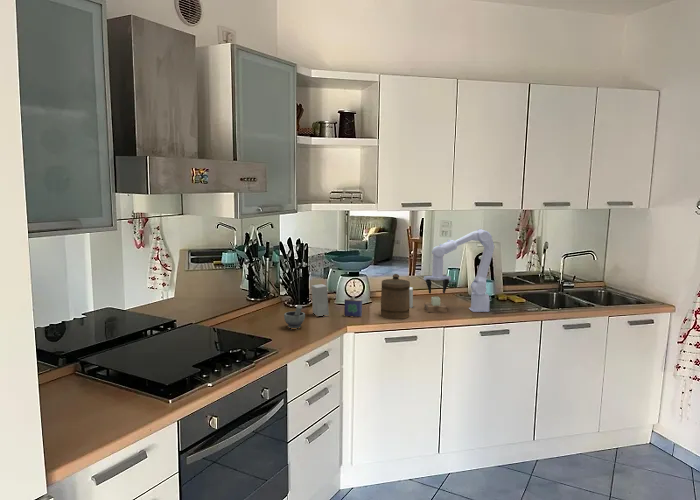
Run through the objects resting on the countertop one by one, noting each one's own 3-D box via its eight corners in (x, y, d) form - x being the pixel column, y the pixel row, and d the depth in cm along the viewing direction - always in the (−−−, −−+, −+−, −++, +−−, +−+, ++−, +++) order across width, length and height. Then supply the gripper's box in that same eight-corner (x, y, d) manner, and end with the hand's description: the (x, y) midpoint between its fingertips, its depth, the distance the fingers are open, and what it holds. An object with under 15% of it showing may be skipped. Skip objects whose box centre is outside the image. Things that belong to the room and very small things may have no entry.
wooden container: (398, 311, 291) (399, 270, 288) (414, 317, 278) (416, 275, 275) (375, 314, 284) (376, 272, 281) (390, 320, 271) (391, 277, 268)
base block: (442, 307, 299) (442, 302, 298) (446, 312, 289) (447, 306, 289) (424, 307, 298) (424, 302, 298) (428, 312, 288) (428, 306, 288)
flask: (362, 316, 279) (362, 296, 277) (361, 317, 276) (361, 297, 275) (344, 315, 281) (345, 295, 279) (343, 316, 278) (343, 296, 276)
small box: (412, 305, 304) (413, 287, 302) (412, 307, 298) (413, 289, 297) (398, 305, 305) (398, 286, 303) (398, 307, 299) (398, 288, 298)
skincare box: (328, 316, 277) (329, 286, 275) (315, 317, 275) (315, 287, 273) (324, 312, 285) (324, 283, 283) (311, 313, 283) (311, 284, 281)
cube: (438, 303, 295) (438, 296, 295) (440, 305, 291) (440, 298, 291) (431, 303, 295) (431, 296, 294) (432, 305, 291) (433, 298, 290)
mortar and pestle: (281, 326, 258) (281, 302, 256) (299, 324, 263) (299, 300, 261) (291, 332, 248) (291, 307, 247) (309, 329, 253) (309, 304, 252)
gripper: (425, 269, 286) (425, 294, 288) (452, 269, 287) (451, 294, 289) (423, 267, 293) (422, 292, 295) (449, 267, 294) (448, 291, 296)
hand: (436, 293), depth 293 cm, fingers open, 7 cm apart
